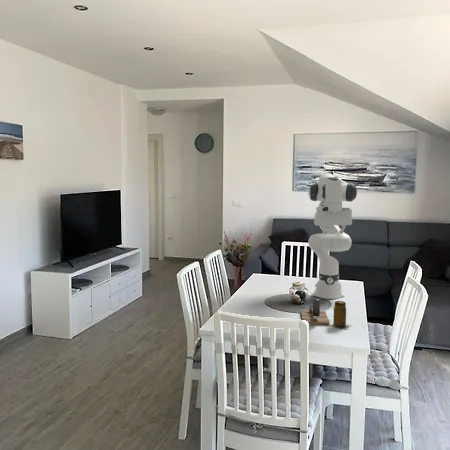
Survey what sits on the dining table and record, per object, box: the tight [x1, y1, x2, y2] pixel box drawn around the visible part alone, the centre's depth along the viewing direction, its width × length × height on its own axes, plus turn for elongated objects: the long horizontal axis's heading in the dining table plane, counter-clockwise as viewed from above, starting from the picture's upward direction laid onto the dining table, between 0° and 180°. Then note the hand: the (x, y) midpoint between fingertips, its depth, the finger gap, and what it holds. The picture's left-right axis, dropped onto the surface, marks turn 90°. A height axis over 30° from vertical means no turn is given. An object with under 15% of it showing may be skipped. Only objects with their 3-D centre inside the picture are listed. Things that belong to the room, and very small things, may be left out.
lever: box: [308, 298, 321, 319], centre depth 236 cm, size 19×4×10 cm, turn 174°
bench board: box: [300, 309, 331, 327], centre depth 237 cm, size 20×13×2 cm, turn 174°
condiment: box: [329, 300, 353, 330], centre depth 226 cm, size 7×8×12 cm
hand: (332, 233), depth 242 cm, fingers open, 8 cm apart
